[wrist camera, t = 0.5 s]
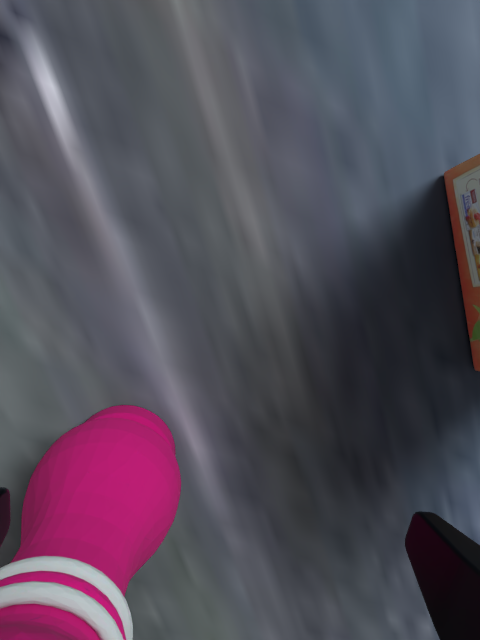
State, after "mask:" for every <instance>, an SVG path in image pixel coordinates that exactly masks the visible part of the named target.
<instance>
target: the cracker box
mask: <svg viewBox="0 0 480 640" xmlns="http://www.w3.org/2000/svg"><path fill="white" fill-rule="evenodd" d="M444 180H445V186H446V192H447V198H448V204H449V210H450V218H451V224H452V230H453V236H454V243H455V250H456V255H457V261H458V268H459V275H460V281H461V287H462V293H463V300H464V306H465V313H466V319H467V325H468V332H469V338H470V345H471V351H472V358H473V365H474V369H475V370H476V371H480V154H478V155H477V156H475V157H473V158H471V159H469V160H467V161H465V162H463V163H461V164H459V165H457V166H455V167H453V168H451V169H450V170H448V171H446V172H445V173H444Z"/></svg>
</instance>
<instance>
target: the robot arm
mask: <svg viewBox="0 0 480 640" xmlns="http://www.w3.org/2000/svg"><path fill="white" fill-rule="evenodd" d="M9 525H10V494H9V490H8V489H7V488H2V487H0V547H1V545H2V542H3V540H4V538H5V536H6V534H7V532H8V529H9ZM405 547H406V551H407V554H408V557H409V560H410V562H411V565H412V568H413V570H414V573H415V576H416V579H417V581H418V584H419V587H420V590H421V592H422V595H423V598H424V600H425V603H426V606H427V609H428V611H429V614H430V617H431V619H432V622H433V624H434V627H435V629H436V631H437V634H438V636H439V638H440V640H480V545H478V544H477V543H476V542H474V541H473V540H471V539H470V538H469V537H467V536H466V535H464V534H463V533H461V532H460V531H459V530H457V529H456V528H454V527H453V526H452V525H450V524H449V523H447V522H446V521H445V520H443V519H442V518H440V517H439V516H438V515H436V514H434V513H432V512H416V513H415V514H414V515H413V517H412V520H411V523H410V525H409V528H408V531H407V534H406V538H405Z"/></svg>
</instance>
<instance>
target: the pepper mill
mask: <svg viewBox="0 0 480 640" xmlns="http://www.w3.org/2000/svg"><path fill="white" fill-rule="evenodd" d="M180 491H181V478H180V471H179V466H178V463H177V460H176V457H175V444H174V440H173V437H172V434H171V432H170V430H169V428H168V427H167V425H166V424H165V423H164V422H163V420H161V419H160V418H159V417H158V416H157V415H155V414H154V413H152V412H151V411H148V410H146V409H144V408H141V407H137V406H131V405H120V406H112V407H110V408H107V409H104V410H102V411H100V412H98V413H96V414H95V415H93V416H92V417H90V418H89V419H88V420H87V421H86V422H85V423H83V424H81V425H79V426H77V427H75V428H73V429H71V430H70V431H68V432H67V433H65V434H64V435H62V436H61V437H60V438H59V439H58V440H57V441H56V442H55V443H54V444H53V445H52V446H51V447H50V448H49V450H48V451H47V452H46V453H45V455H44V456H43V458H42V459H41V461H40V462H39V463H38V465H37V467H36V469H35V471H34V472H33V474H32V476H31V478H30V481H29V485H28V488H27V491H26V495H25V498H24V502H23V510H22V521H21V546H20V548H19V550H18V552H17V553H16V555H15V556H14V558H13V560H12V561H11V563H10V564H8V565H5V566H3V567H1V568H0V640H133V624H132V618H131V613H130V610H129V607H128V604H127V602H126V600H125V598H124V597H125V592H126V589H127V586H128V583H129V581H130V579H131V578H132V577H133V575H134V574H135V573H136V572H137V571H138V570H139V569H140V568H141V567H142V566H143V565H144V563H145V562H146V561H147V560H148V559H149V558H150V557H151V556H152V555H153V554H154V553H155V551H156V550H157V548H158V547H159V546H160V544H161V543H162V541H163V540H164V538H165V536H166V534H167V532H168V530H169V529H170V527H171V525H172V523H173V521H174V518H175V514H176V511H177V507H178V502H179V498H180Z"/></svg>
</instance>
